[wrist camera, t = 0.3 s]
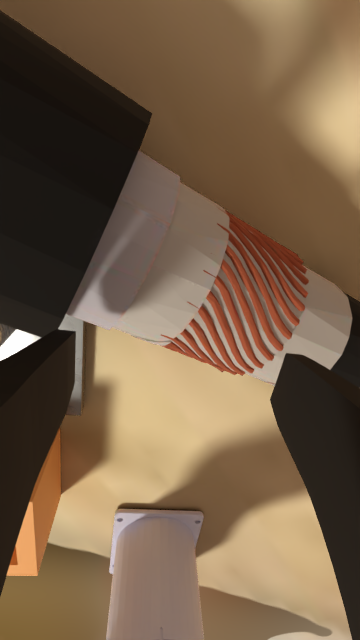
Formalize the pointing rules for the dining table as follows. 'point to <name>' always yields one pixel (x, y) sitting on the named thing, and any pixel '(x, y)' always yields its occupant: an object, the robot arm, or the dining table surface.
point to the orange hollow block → (38, 516)
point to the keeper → (10, 340)
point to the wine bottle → (140, 234)
